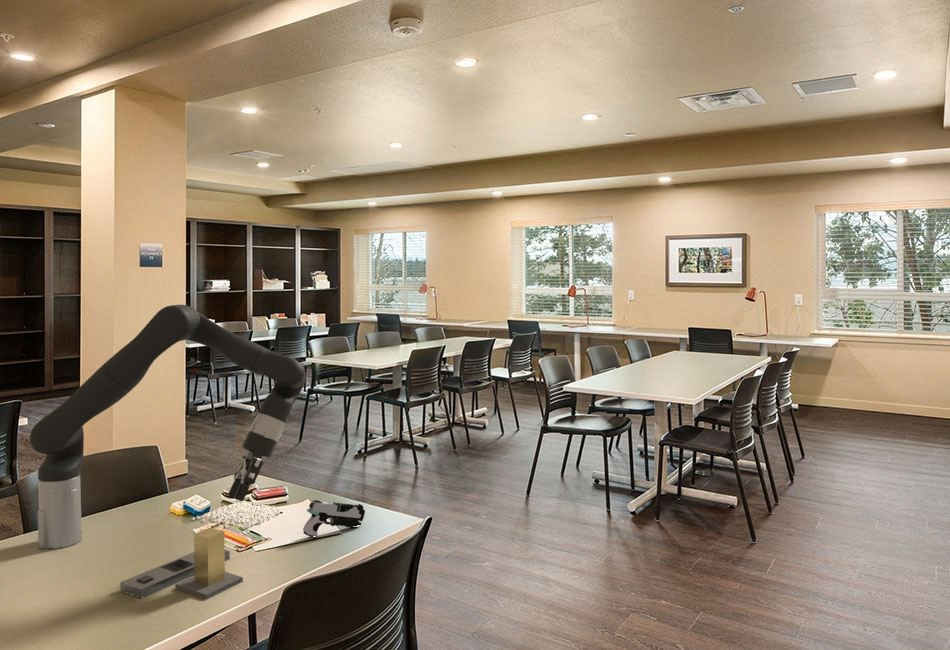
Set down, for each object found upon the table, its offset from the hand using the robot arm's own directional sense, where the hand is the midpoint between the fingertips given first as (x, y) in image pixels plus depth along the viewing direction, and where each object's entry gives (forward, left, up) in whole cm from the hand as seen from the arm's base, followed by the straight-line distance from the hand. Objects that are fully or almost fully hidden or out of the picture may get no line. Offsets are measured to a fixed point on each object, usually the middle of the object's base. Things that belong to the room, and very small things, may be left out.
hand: (235, 498), depth 164 cm
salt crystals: (+6, +34, -17) cm, 38 cm away
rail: (-13, -1, -16) cm, 20 cm away
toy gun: (+27, +10, -16) cm, 33 cm away
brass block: (-7, -10, -15) cm, 19 cm away
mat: (-7, -10, -16) cm, 20 cm away
